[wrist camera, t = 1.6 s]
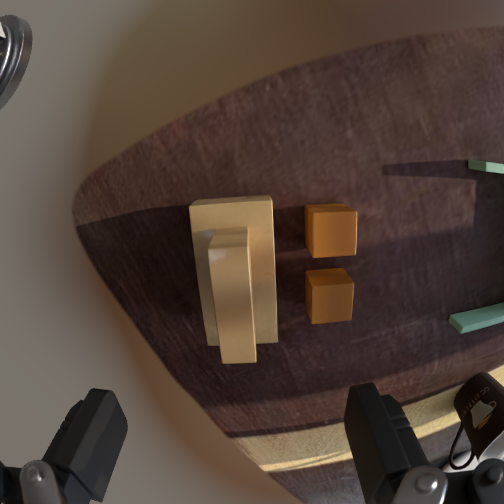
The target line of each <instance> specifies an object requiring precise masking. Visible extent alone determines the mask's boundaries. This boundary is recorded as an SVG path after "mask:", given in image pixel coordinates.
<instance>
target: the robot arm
mask: <svg viewBox="0 0 504 504" xmlns="http://www.w3.org/2000/svg"><path fill="white" fill-rule="evenodd" d="M13 48H14V34H13V31H12V29H11V28H10V27H9V26H7V25H5V24H2V23H0V83H1V82H2V80H3V78H4V76H5V74H6V71H7V69H8V67H9V64H10V61H11V58H12V54H13ZM344 425H345V431H346V435H347V438H348V442H349V445H350V449H351V452H352V456H353V459H354V463H355V466H356V470H357V473H358V477H359V481H360V484H361V488H362V492H363V495H364V499H365V503H366V504H504V461H502V460H500V459H497V458H489V459H486V460H483V461H482V462H480V463H479V464H478V465H477V466H476V468H475V469H474V470H468V471H460V472H443V471H442V470H441V469H439V468H438V467H436V466H432V465H431V464H430V463H429V462H428V460H427V458H426V456H425V454H424V452H423V450H422V448H421V446H420V443H419V441H418V439H417V437H416V435H415V433H414V431H413V429H412V427H410V423H409V421H408V419H407V417H405V413H404V411H403V409H402V407H401V405H400V403H399V402H397V401H396V400H395V399H394V398H393V397H391V396H390V395H389V394H387V395H383V396H380V394H379V392H378V390H377V388H376V386H375V384H374V383H373V382H371V383H366V384H360V385H354V386H351V387H350V389H349V394H348V399H347V405H346V410H345V415H344ZM127 427H128V425H127V420H126V417H125V415H124V413H123V411H122V409H121V407H120V405H119V402H118V400H117V398H116V396H115V394H114V393H113V391H111V390H102V389H95V388H93V389H91V390H90V391H89V393H88V394H87V396H86V398H85V399H84V400H80V401H79V402H78V403H77V404H75V405H74V406H73V407H72V408H71V409H70V410H69V412H68V414H67V416H66V417H65V421H63V422H62V424H61V426H60V429H59V430H58V432H57V433H56V435H55V437H54V439H53V440H52V442H51V444H50V446H49V447H48V449H47V451H46V453H45V455H44V457H43V458H42V460H33V461H30V462H28V463H27V464H25V465H24V467H23V468H15V467H5V466H4V464H3V463H2V462H1V461H0V504H1V503H3V504H89V502H90V500H95V501H98V502H102V501H103V498H104V495H105V492H106V489H107V486H108V484H109V481H110V478H111V475H112V472H113V470H114V467H115V464H116V461H117V458H118V456H119V453H120V450H121V447H122V445H123V442H124V440H125V437H126V434H127Z"/></svg>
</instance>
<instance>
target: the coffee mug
mask: <svg viewBox="0 0 504 504" xmlns="http://www.w3.org/2000/svg"><path fill="white" fill-rule="evenodd" d="M454 407H455V409H456V411H457V413H458V415H459V418H460V420H461V426H460V428H459V431H458V433H457V435H456V438H455V440H454V442H453V445H452V447H451V451H450V455H449V465H450V467H451V468H452V469H453V470H461V469H464V468H466V467H467V466H469V465H470V463H471V462H472V461H473V459H474V457H475V456H476V458H477V461H478V463H480V462H482V461H483V460H486V459H489V458H496V457H497V456H499V455H500V454H501V453H503V452H504V387H503V386H502V385H501V384H500V383H499V382H498V381H497V380H495V379H494V378H493V377H492V376H491V375H490V374H488V373H487V372H483V373H480V374H477V375H476V376H474V377H473V378H471V379H470V380H469V381H468V382H466V383H465V384H464V385H463V387H462V388H461V389H460V390H459V392H458V393H457V395H456V397H455V399H454ZM463 428H464V429H465V431H466V434H467V436H468V438H469V441H470V443H471V455H470V458H469V460H468V461H467V462H466V463H465V464H464V465H462V466H456V465H454V463H453V454H454V450H455V447H456V445H457V442H458V440H459V438H460V436H461V433H462V431H463Z"/></svg>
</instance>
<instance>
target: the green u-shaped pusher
mask: <svg viewBox="0 0 504 504" xmlns="http://www.w3.org/2000/svg"><path fill="white" fill-rule="evenodd" d="M468 168H469V169H474V170H480V171H486V172H494V173H502V174H504V164H498V163H492V162H485V161H477V160H468ZM503 321H504V302H503V303H499V304H495V305H491V306H487V307H483V308H479V309H474V310H470V311H466V312H461V313H456V314H452V315H450V317H449V322H450V323H451V324H452V325H453V326H454V327H455V328H456V329H457V330H458V331H459V332H460V333H461V334H462V333H465V332H469V331H473V330H476V329H480V328H484V327H487V326H490V325H494V324H497V323H500V322H503Z"/></svg>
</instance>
